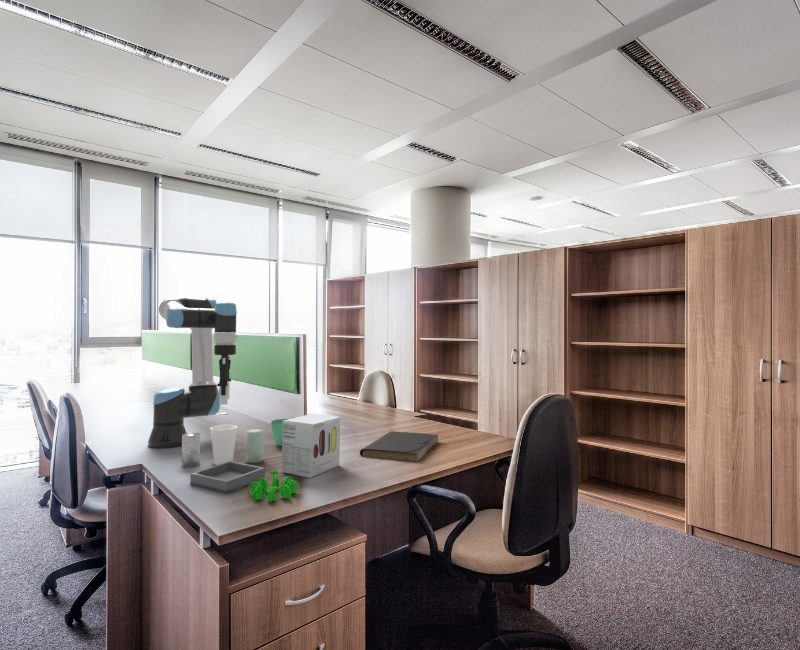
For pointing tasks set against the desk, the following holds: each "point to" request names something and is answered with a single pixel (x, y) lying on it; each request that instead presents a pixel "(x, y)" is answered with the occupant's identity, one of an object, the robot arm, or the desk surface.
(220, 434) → the foam cup
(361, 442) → the desk surface
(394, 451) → the dark grey book
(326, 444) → the supplement box
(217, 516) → the desk surface
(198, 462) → the steel canister
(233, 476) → the tray
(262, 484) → the green leafy sprig
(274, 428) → the mug
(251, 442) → the sage canister
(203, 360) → the robot arm
